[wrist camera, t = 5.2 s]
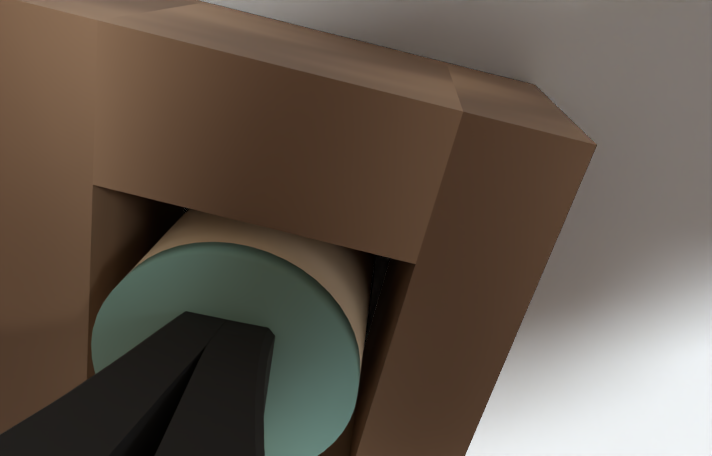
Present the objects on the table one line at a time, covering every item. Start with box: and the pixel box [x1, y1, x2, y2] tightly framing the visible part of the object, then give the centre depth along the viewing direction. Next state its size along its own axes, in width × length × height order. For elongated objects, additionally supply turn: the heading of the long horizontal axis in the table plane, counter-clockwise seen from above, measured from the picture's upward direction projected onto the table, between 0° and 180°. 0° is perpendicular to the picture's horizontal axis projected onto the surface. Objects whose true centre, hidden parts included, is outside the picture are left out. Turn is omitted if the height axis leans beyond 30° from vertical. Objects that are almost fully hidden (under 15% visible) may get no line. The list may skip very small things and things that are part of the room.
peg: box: [91, 209, 375, 456], centre depth 10 cm, size 4×4×4 cm
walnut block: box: [0, 0, 597, 456], centre depth 11 cm, size 16×9×4 cm, turn 77°
